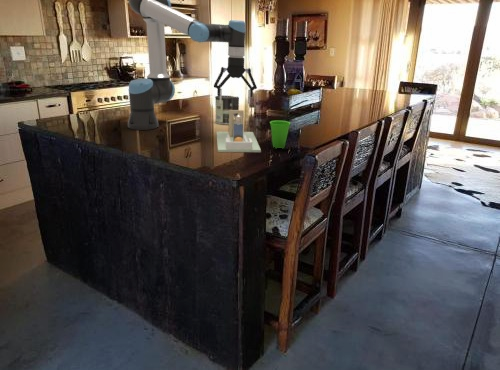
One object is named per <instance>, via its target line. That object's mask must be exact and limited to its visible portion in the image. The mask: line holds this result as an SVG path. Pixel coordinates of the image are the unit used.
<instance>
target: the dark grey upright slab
mask: <svg viewBox="0 0 500 370" xmlns="http://www.w3.org/2000/svg"><path fill="white" fill-rule="evenodd" d="M239 102H240V97H239V96H233V97H232V110H240V106H239V105H240V103H239ZM234 119H235V121H236V124H234V132H233V142H234V139H235V138H236V137H241V138H242V139H243V132H244V123H243V124H240V122H241V120H242V117H241V116H240V115H239V113H234Z"/></svg>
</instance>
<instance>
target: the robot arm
mask: <svg viewBox="0 0 500 370" xmlns="http://www.w3.org/2000/svg"><path fill="white" fill-rule="evenodd" d="M128 6H129V8H130V9H131V10H132V11H133V12H134V13H135V14H138V15H140V16H142V20H143V21H144V22H145V24H146V37H147V50H148V63H149V64H148V66H149V73H148V75H147V76H146V78H136V79H132V80H131V81H129V83H128V98H129V108H130V113H129V117H128V119H127V120H128V121H127V128H128V129H131V130H137V131H143V130H144V131H146V130H154V129H157V127H158V128H159V126H160V125H159V120H158V117H157V116H156V112H155V105H156V104H160V103H161V104H162V103H167V102H169V101H170V100H172V99H173V98H174V96H175V93H176V87H175V84H174V83H173V81H172V80H171V76H170V74H168V73H167V72H168V71H167V56H166V54H167V53H166V35H165V26H167V27H170V28H171V29H173V30H176V31H178V32H180V33H182V34H185V35H186V36H188V37H190V39H191V40H192V41H193V42H197V43H228V44H227V45H228V46H227V47H228V49H227V50H228V51H227V55H228V57H227V67H224V66H221V68H220V73H218V76H217V78H216V80H215V82H214V84H213V87H214V88H215V89H216V90H217V95H216V96H220V103H221V100H222V96H223V95H222V92H223V91H222V90H223V88H222V87H223V86H224V85H225V83H226V82H227V81H228V80H229V79H230V78H233V79H235V78H236V79H240V78H241V79H242V80H243V81H244V83H245V84H246V86H247V87H248V88H249V89H248V93H247V94H248V95H247V105H251V98H253V95H254V90H256V89H258V87H257V84H256V82H255V79H254V78H253V75H252V69H251V68H250V67H248V68H245V55H246V54H245V52H246V49H245V48H246V47H245V45H246V32H247V31H246V22H245V21H244V20H232V19H231V20H229V21H228V24H216V23H204V22H202V21H200V20H199V19H198V20H197V19H196V18H194V17H192V16H189V15H188V14H185V13H183V12H181V11H180V10H177V9H175V8H173V7H172V3H171V0H128ZM226 72H227V73H228V74H227V75H226V76H225V78H224V79H223V80H222V81H221V82H220V80H221V78H222V77H223V74H224V73H226ZM245 72H246V73H247V74H248V77H249V79H250V82H251V84H252V85H251V84H250V83H249V81H248V80H247V78H246V77H245V75H243V74H244V73H245Z"/></svg>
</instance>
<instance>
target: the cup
mask: <svg viewBox="0 0 500 370" xmlns="http://www.w3.org/2000/svg"><path fill="white" fill-rule="evenodd" d="M269 124H270V129H271V130H270V133H271V141H272V142H271V143H272V148H274V147H275V148H274V149H277V148H282V149H285V147H286V142H287V139H288V134H289V130H290V125H291V122H290V121H288V120H287V121H286V120H271V121H269Z"/></svg>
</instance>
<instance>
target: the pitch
mask: <svg viewBox="0 0 500 370" xmlns="http://www.w3.org/2000/svg"><path fill="white" fill-rule="evenodd" d="M234 113H239V115H240V116H241V117H242V120H241V122H240V124H243V125H244V119H245V118H244V115H245V114H244V113H245V112H244V110H243V109H239V110H229V124H228V131H216V132H215V133H216V145H217V146H216V147H217V153H262V150H261V147H260V145H259V142H258V141H257V138H256V136H255V133H254V131H243V142H233V132H234V124H236V121H235V117H234Z"/></svg>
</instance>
